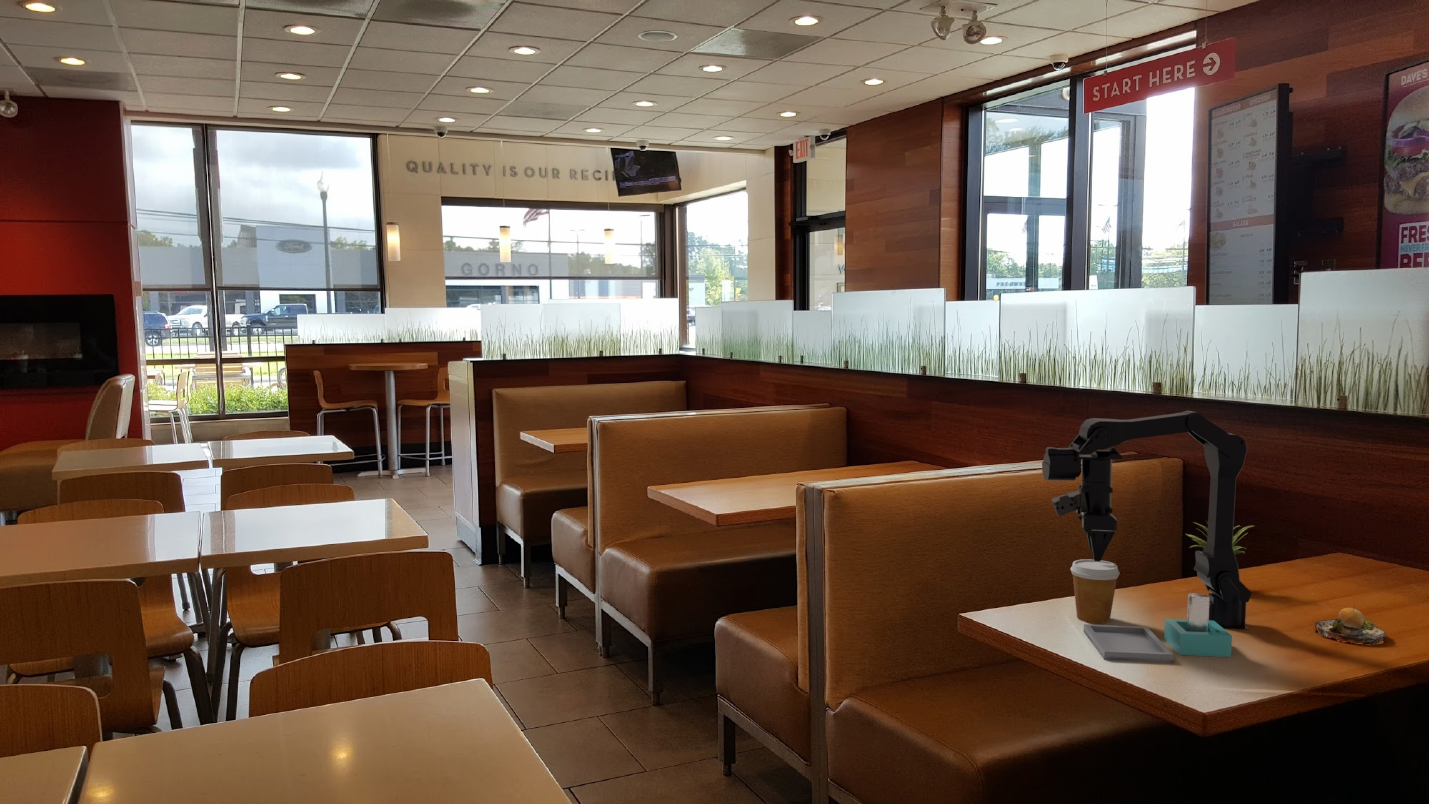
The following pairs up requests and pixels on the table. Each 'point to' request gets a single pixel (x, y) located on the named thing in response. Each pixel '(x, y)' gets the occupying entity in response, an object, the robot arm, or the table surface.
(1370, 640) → the burger
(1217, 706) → the table surface
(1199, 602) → the steel pin
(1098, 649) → the charcoal tray
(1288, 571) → the table surface
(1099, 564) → the disposable coffee cup
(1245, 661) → the table surface
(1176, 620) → the teal square open box
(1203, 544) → the house plant
